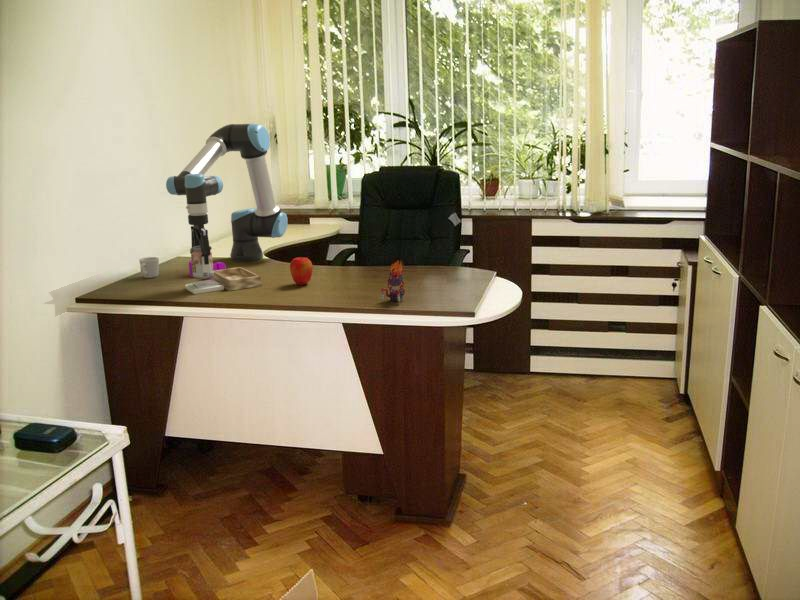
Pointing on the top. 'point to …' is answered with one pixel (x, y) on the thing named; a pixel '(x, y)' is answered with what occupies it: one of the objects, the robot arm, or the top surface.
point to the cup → (149, 267)
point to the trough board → (236, 278)
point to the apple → (301, 270)
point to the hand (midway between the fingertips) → (202, 270)
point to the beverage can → (200, 263)
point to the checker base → (203, 290)
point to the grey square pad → (203, 284)
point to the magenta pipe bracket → (215, 267)
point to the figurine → (395, 283)
